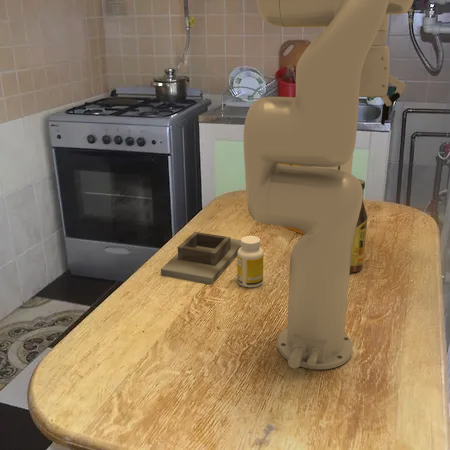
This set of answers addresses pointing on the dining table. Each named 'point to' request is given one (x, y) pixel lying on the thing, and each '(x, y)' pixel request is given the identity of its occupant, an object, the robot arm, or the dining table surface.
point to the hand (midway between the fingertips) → (359, 122)
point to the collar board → (202, 258)
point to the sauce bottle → (359, 238)
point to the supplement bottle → (250, 262)
